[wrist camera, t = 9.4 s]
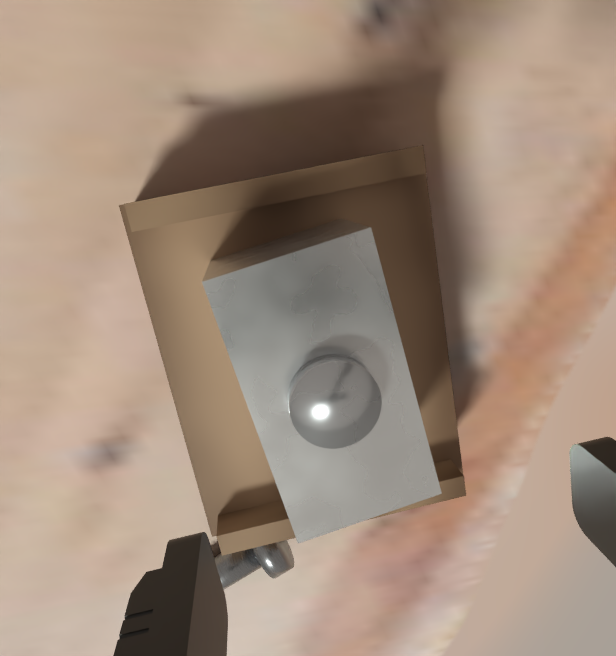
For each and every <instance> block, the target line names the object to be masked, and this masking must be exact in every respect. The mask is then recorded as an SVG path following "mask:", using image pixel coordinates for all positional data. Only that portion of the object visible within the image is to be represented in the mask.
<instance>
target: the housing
mask: <svg viewBox="0 0 616 656" xmlns="http://www.w3.org/2000/svg"><path fill="white" fill-rule="evenodd" d="M202 284H203V286H204V289H205V292H206V295H207V297H208V300H209V303H210V305H211V308H212V311H213V314H214V316H215V319H216V322H217V325H218V327H219V330H220V333H221V335H222V338H223V341H224V344H225V346H226V349H227V352H228V354H229V357H230V360H231V363H232V365H233V368H234V371H235V373H236V376H237V379H238V382H239V384H240V387H241V390H242V392H243V395H244V398H245V401H246V403H247V406H248V409H249V411H250V414H251V417H252V420H253V422H254V425H255V428H256V431H257V433H258V436H259V439H260V441H261V444H262V447H263V450H264V452H265V455H266V458H267V460H268V463H269V466H270V469H271V471H272V474H273V477H274V479H275V482H276V485H277V488H278V490H279V493H280V496H281V498H282V501H283V504H284V507H285V509H286V512H287V515H288V518H289V520H290V523H291V526H292V528H293V531H294V534H295V537H296V539H297V542H298V543H301V542H304V541H307V540H310V539H313V538H316V537H318V536H321V535H324V534H327V533H330V532H333V531H336V530H339V529H341V528H344V527H347V526H350V525H353V524H356V523H359V522H362V521H364V520H367V519H370V518H373V517H376V516H379V515H382V514H385V513H388V512H390V511H393V510H396V509H399V508H402V507H405V506H408V505H411V504H413V503H416V502H419V501H422V500H425V499H428V498H431V497H434V496H436V495H439V494H442V493H441V489H440V485H439V481H438V477H437V474H436V470H435V466H434V462H433V459H432V455H431V451H430V447H429V444H428V440H427V436H426V432H425V429H424V425H423V421H422V417H421V413H420V410H419V406H418V402H417V398H416V395H415V391H414V387H413V383H412V380H411V376H410V372H409V368H408V365H407V361H406V357H405V353H404V349H403V346H402V342H401V338H400V334H399V331H398V327H397V323H396V319H395V316H394V312H393V308H392V304H391V300H390V297H389V293H388V289H387V285H386V282H385V278H384V274H383V270H382V267H381V263H380V259H379V255H378V252H377V248H376V244H375V240H374V236H373V233H372V229H371V227H369V226H365V225H362V224H359V223H355V222H352V221H348V220H345V219H342V218H341V219H338V220H335V221H332V222H328V223H325V224H322V225H319V226H316V227H313V228H310V229H307V230H304V231H301V232H297V233H294V234H291V235H288V236H285V237H282V238H279V239H276V240H273V241H269V242H266V243H263V244H260V245H257V246H254V247H251V248H248V249H245V250H242V251H238V252H235V253H232V254H229V255H226V256H223V257H220V258H217V259H214V260H211V261H210V262H209V265H208V267H207V270H206V273H205V275H204V278H203V280H202Z"/></svg>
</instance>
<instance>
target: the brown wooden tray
mask: <svg viewBox="0 0 616 656" xmlns="http://www.w3.org/2000/svg"><path fill="white" fill-rule="evenodd" d="M119 207H120V211H121V214H122V218H123V222H124V225H125V229H126V232H127V236H128V239H129V243H130V246H131V250H132V254H133V257H134V261H135V264H136V268H137V271H138V275H139V278H140V282H141V286H142V289H143V293H144V296H145V300H146V303H147V307H148V310H149V314H150V318H151V321H152V325H153V328H154V332H155V335H156V339H157V342H158V346H159V350H160V353H161V357H162V360H163V364H164V367H165V371H166V374H167V378H168V381H169V385H170V389H171V392H172V396H173V399H174V403H175V406H176V410H177V413H178V417H179V421H180V424H181V428H182V431H183V435H184V438H185V442H186V445H187V449H188V453H189V456H190V460H191V463H192V467H193V470H194V474H195V477H196V481H197V485H198V488H199V492H200V495H201V499H202V502H203V506H204V509H205V513H206V517H207V520H208V524H209V527H210V531H211V534H212V537H213V536H217V540H218V543H219V547H220V550H221V554H222V556H223V555H227V554H231V553H235V552H239V551H243V550H247V549H251V548H255V547H259V546H263V545H268V544H272V543H276V542H280V541H284V540H288V539H292V538H296V537H295V534H294V531H293V528H292V526H291V523H290V520H289V518H288V515H287V512H286V509H285V507H284V504H283V501H282V498H281V496H280V493H279V490H278V488H277V485H276V482H275V479H274V477H273V474H272V471H271V469H270V466H269V463H268V460H267V458H266V455H265V452H264V450H263V447H262V444H261V441H260V439H259V436H258V433H257V431H256V428H255V425H254V422H253V420H252V417H251V414H250V411H249V409H248V406H247V403H246V401H245V398H244V395H243V392H242V390H241V387H240V384H239V382H238V379H237V376H236V373H235V371H234V368H233V365H232V363H231V360H230V357H229V354H228V352H227V349H226V346H225V344H224V341H223V338H222V335H221V333H220V330H219V327H218V325H217V322H216V319H215V316H214V314H213V311H212V308H211V305H210V303H209V300H208V297H207V295H206V292H205V289H204V286H203V284H202V280H203V278H204V275H205V273H206V270H207V267H208V265H209V262H210V261H211V260H214V259H217V258H220V257H223V256H226V255H229V254H232V253H235V252H238V251H242V250H245V249H248V248H251V247H254V246H257V245H260V244H263V243H266V242H269V241H273V240H276V239H279V238H282V237H285V236H288V235H291V234H294V233H297V232H301V231H304V230H307V229H310V228H313V227H316V226H319V225H322V224H325V223H328V222H332V221H335V220H338V219H341V218H342V219H345V220H348V221H352V222H355V223H359V224H362V225H365V226H369V227H371V229H372V233H373V236H374V240H375V244H376V248H377V252H378V255H379V259H380V263H381V267H382V270H383V274H384V278H385V282H386V285H387V289H388V293H389V297H390V300H391V304H392V308H393V312H394V316H395V319H396V323H397V327H398V331H399V334H400V338H401V342H402V346H403V349H404V353H405V357H406V361H407V365H408V368H409V372H410V376H411V380H412V383H413V387H414V391H415V395H416V398H417V402H418V406H419V410H420V413H421V417H422V421H423V425H424V429H425V432H426V436H427V440H428V444H429V447H430V451H431V455H432V459H433V462H434V466H435V470H436V474H437V477H438V481H439V485H440V489H441V493H442V494H439V495H436V496H434V497H431V498H428V499H425V500H422V501H419V502H416V503H413V504H411V505H408V506H405V507H402V508H399V509H396V510H393V511H390V512H388V513H385V514H382V515H379V516H376V517H373V518H377V517H381V516H385V515H389V514H393V513H397V512H401V511H405V510H409V509H413V508H417V507H421V506H425V505H430V504H434V503H438V502H442V501H446V500H450V499H454V498H458V497H462V496H466V490H465V482H464V476H463V470H462V462H461V454H460V445H459V437H458V429H457V421H456V413H455V405H454V397H453V389H452V381H451V372H450V364H449V356H448V348H447V340H446V332H445V324H444V316H443V307H442V299H441V291H440V283H439V275H438V267H437V259H436V251H435V242H434V234H433V226H432V218H431V210H430V202H429V194H428V186H427V178H426V165H425V157H424V149H423V145H421V146H416V147H411V148H406V149H401V150H396V151H391V152H386V153H381V154H376V155H370V156H365V157H360V158H355V159H350V160H345V161H340V162H335V163H330V164H325V165H320V166H314V167H309V168H304V169H299V170H294V171H289V172H284V173H279V174H274V175H269V176H264V177H259V178H253V179H248V180H243V181H238V182H233V183H228V184H223V185H218V186H213V187H208V188H203V189H198V190H192V191H187V192H182V193H177V194H172V195H167V196H162V197H157V198H152V199H147V200H142V201H136V202H131V203H126V204H124V205H119ZM373 518H370V519H373ZM367 520H369V519H367ZM364 521H365V520H364Z"/></svg>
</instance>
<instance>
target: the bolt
mask: <svg viewBox="0 0 616 656" xmlns="http://www.w3.org/2000/svg"><path fill="white" fill-rule="evenodd" d="M214 559H215V563H216V566H217V570H218V573H219V576H220V580H221V583H222V587H223V590H224V589H226V588H227V587H229V586H231V585H232V584H234V583H236V582H237V581H239V580H241V579H242V578H244V577H246V576H247V575H249V574H251V573H252V572H254V571H256V570H257V569H259V568H261V567H263V569H264V570H265V572H266V573H267V574H268V575H269V576H270V577H272V578H277V577H278V576H280V575H282V574H283V573H285V572H287V571H288V570H290V569H292V568H293V567H294V558H293V555H292V552H291V549H290V546H289V544H288V542H287V540H284V541H280V542H276V543H272V544H268V545H263V546H259V547H255V548H251V549H247V550H243V551H239V552H235V553H231V554H227V555H223V556H222V554H219V555H217V556H216V557H214Z"/></svg>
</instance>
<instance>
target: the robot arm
mask: <svg viewBox="0 0 616 656" xmlns="http://www.w3.org/2000/svg"><path fill="white" fill-rule="evenodd" d="M570 472H571V489H572V504H573V511H574V514H575V517H576V520H577V522H578V524H579V526H580V528H581V529H582V531H583V532H584V534H585V535H586V536H587V537H588V538H589V539H590V541H591V542H592V543H593V544H594V545H595V546H596V547H597V548H598V549H599V550H600V551H601V552H602V553H603V554H604V555H605V556H606V557H607V558H608V559H609V560H610V561H611V563H612V564H613V565H614V566H615V567H616V441H615V440H614V439H612V438H610V437H604V438H600V439H596V440H592V441H587V442H583V443H579V444H575V445H573V446H572V447H571V449H570ZM227 631H228V615H227V605H226V599H225V594H224V590H223V587H222V583H221V580H220V576H219V573H218V570H217V566H216V563H215V559H214V556H213V553H212V549H211V546H210V543H209V539H208V537H207V535H206V533H205V532H202V533H198V534H194V535H189V536H185V537H181V538H177V539H173V540H169V542H168V544H167V548H166V553H165V557H164V562H163V566H162V568H161V569H157V570H153V571H149V572H146V573H145V575H144V576H143V577H142V579H141V580H140V582H139V583H138V584H137V586H136V587H135V589H134V590H133V591H132V593H131V595H130V598H129V602H128V606H127V609H126V613H125V620H124V621H123V624H122V627H121V631H120V634H119V636H120V640H118V641H117V645H116V649H115V652H114V656H226V655H227Z"/></svg>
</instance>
